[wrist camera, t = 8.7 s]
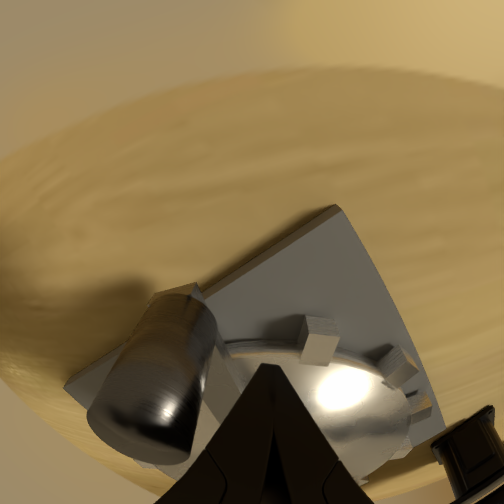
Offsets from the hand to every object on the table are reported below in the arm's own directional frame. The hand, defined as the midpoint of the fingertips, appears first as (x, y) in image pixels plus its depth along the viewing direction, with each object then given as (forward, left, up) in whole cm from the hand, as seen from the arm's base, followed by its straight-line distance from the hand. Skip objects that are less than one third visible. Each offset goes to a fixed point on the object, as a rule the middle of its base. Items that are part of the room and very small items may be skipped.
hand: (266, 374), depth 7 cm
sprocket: (-7, +5, -4) cm, 9 cm away
